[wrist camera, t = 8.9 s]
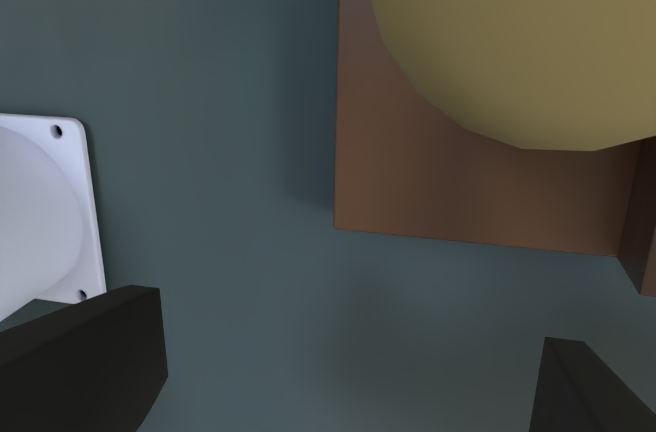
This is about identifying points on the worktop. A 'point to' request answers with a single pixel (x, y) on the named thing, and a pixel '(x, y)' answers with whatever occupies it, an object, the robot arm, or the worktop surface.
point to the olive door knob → (531, 67)
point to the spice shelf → (476, 171)
